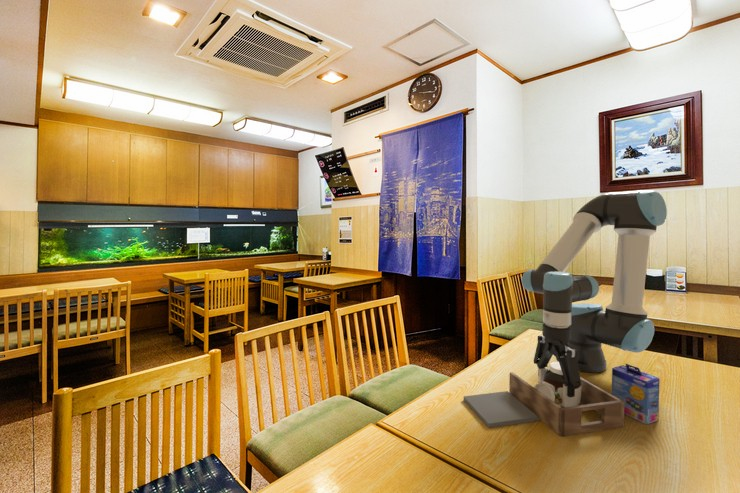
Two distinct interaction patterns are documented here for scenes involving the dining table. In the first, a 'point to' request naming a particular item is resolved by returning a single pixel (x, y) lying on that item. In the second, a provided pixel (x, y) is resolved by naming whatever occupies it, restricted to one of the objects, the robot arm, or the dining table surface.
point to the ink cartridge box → (637, 393)
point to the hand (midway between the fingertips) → (555, 397)
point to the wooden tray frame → (571, 408)
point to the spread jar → (556, 385)
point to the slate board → (500, 409)
